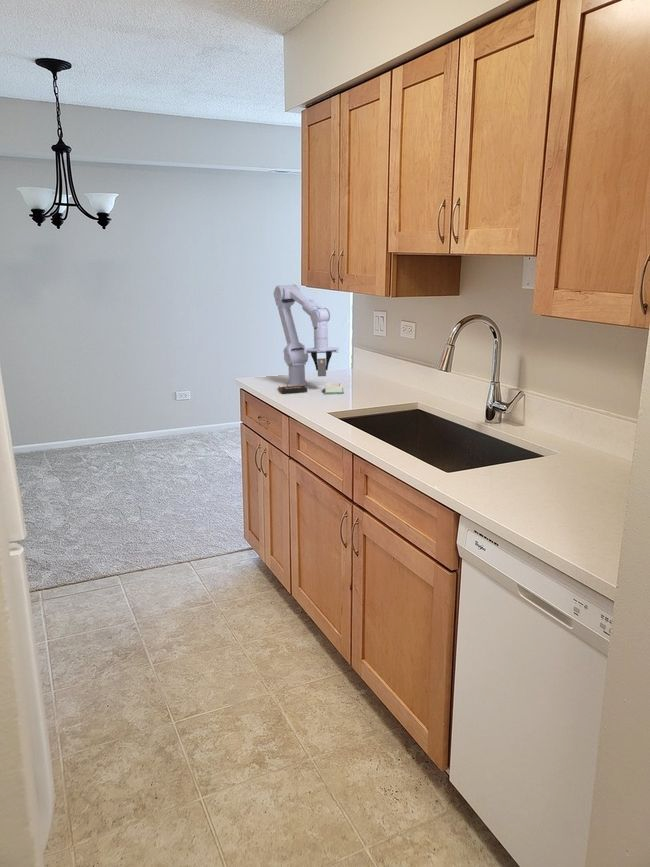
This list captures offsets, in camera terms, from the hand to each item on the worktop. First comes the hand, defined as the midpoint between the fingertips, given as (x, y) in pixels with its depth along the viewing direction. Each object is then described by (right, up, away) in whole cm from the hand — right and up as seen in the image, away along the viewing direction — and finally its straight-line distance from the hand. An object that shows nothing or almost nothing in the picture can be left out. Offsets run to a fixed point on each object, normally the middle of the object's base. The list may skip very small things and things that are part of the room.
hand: (321, 369), depth 280 cm
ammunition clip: (-11, -9, -1) cm, 14 cm away
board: (+5, -9, 0) cm, 11 cm away
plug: (0, -2, 0) cm, 2 cm away
